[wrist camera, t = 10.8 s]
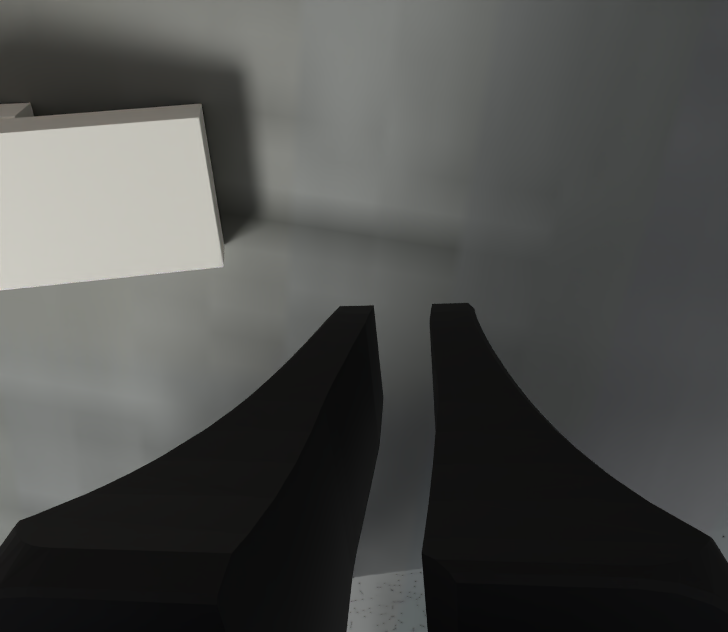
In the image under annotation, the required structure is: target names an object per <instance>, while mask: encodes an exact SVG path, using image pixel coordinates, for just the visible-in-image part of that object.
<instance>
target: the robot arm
mask: <svg viewBox="0 0 728 632" xmlns="http://www.w3.org/2000/svg"><path fill="white" fill-rule="evenodd" d="M430 338H431V356H432V374H433V392H434V410H435V428H436V435H435V446H434V458H433V469H432V478H431V488H430V497H429V505H428V513H427V520H426V527H425V535H424V541H423V548H422V564H423V576H424V589H425V602H426V614H427V627H428V632H728V562H727V561H726V559H725V557H724V556H723V554H722V553H721V551H720V549H719V548H718V546H717V545H716V543H715V542H714V540H713V539H712V538H711V537H710V536H708V535H706V534H704V533H703V532H701V531H699V530H697V529H696V528H694V527H692V526H690V525H689V524H687V523H685V522H683V521H682V520H680V519H678V518H676V517H675V516H673V515H671V514H669V513H668V512H666V511H664V510H662V509H661V508H659V507H657V506H655V505H654V504H652V503H650V502H649V501H647V500H645V499H644V498H642V497H641V496H639V495H638V494H636V493H635V492H633V491H632V490H631V489H629V488H628V487H626V486H625V485H623V484H622V483H620V482H619V481H617V480H616V479H614V478H613V477H612V476H610V475H609V474H608V473H606V472H605V471H604V470H603V469H601V468H600V467H599V466H598V465H596V464H595V463H594V462H593V461H591V460H590V459H589V458H588V457H586V456H585V455H584V454H583V453H581V452H580V451H579V450H578V449H576V448H575V447H574V446H573V445H572V444H571V443H570V442H569V441H568V440H567V439H566V438H565V437H564V436H563V435H562V434H560V433H559V432H558V431H557V430H556V429H555V428H554V427H553V426H552V424H551V423H550V422H549V421H548V420H547V419H546V418H545V417H544V416H543V415H542V414H541V413H540V412H539V411H538V410H537V408H536V407H535V406H534V405H533V404H532V403H531V401H530V400H529V399H528V398H527V397H526V395H525V394H524V393H523V392H522V390H521V389H520V388H519V387H518V385H517V384H516V383H515V381H514V380H513V379H512V377H511V376H510V375H509V373H508V372H507V370H506V369H505V367H504V366H503V364H502V363H501V361H500V360H499V358H498V357H497V355H496V354H495V352H494V350H493V349H492V347H491V345H490V344H489V342H488V340H487V338H486V336H485V334H484V333H483V331H482V329H481V326H480V324H479V322H478V320H477V317H476V314H475V310H474V308H473V307H472V306H471V305H469V304H468V303H450V304H432V308H431V314H430ZM382 409H383V390H382V381H381V371H380V362H379V352H378V342H377V333H376V323H375V313H374V305H373V306H340V307H339V308H338V309H337V310H336V311H335V312H334V313H333V314H332V315H331V316H330V317H329V318H328V319H327V320H326V321H325V322H324V324H323V325H322V326H321V327H320V328H319V329H318V330H317V331H316V332H315V333H314V334H313V336H312V337H311V338H310V339H309V340H308V341H307V342H306V343H305V344H304V345H303V346H302V347H301V348H300V349H299V350H298V351H297V352H296V353H295V354H294V356H293V357H292V358H291V359H290V360H289V361H288V362H287V363H286V364H285V365H284V366H283V367H282V368H281V369H280V370H278V371H277V372H276V373H275V374H274V375H273V376H272V377H271V378H270V379H269V380H267V381H266V382H265V383H264V384H263V385H262V386H261V387H260V388H259V389H258V390H256V391H255V392H254V393H253V394H252V395H251V396H249V397H248V398H247V399H246V400H245V401H243V402H242V403H241V404H239V405H238V406H237V407H236V408H234V409H233V410H232V411H230V412H229V413H228V414H226V415H225V416H223V417H222V418H221V419H219V420H218V421H217V422H215V423H214V424H212V425H211V426H210V427H208V428H207V429H205V430H204V431H202V432H200V433H199V434H197V435H196V436H194V437H192V438H191V439H189V440H187V441H186V442H184V443H183V444H181V445H179V446H178V447H176V448H174V449H173V450H171V451H170V452H168V453H166V454H165V455H163V456H161V457H160V458H158V459H156V460H154V461H152V462H151V463H149V464H147V465H145V466H143V467H141V468H139V469H137V470H135V471H134V472H132V473H130V474H128V475H126V476H123V477H121V478H119V479H117V480H115V481H113V482H111V483H109V484H107V485H105V486H103V487H101V488H98V489H96V490H94V491H92V492H90V493H87V494H85V495H83V496H80V497H78V498H75V499H73V500H70V501H68V502H65V503H63V504H61V505H58V506H56V507H53V508H51V509H48V510H46V511H43V512H41V513H39V514H36V515H34V516H31V517H28V518H26V519H23V520H20V521H19V522H18V523H17V524H16V526H15V527H14V528H13V530H12V531H11V532H10V534H9V535H8V536H7V538H6V539H5V541H4V542H3V544H2V545H1V546H0V632H346V630H347V621H348V612H349V603H350V594H351V584H352V576H353V570H354V564H355V558H356V552H357V547H358V543H359V538H360V534H361V529H362V524H363V520H364V515H365V511H366V506H367V502H368V497H369V492H370V488H371V483H372V479H373V474H374V469H375V464H376V460H377V455H378V450H379V444H380V433H381V422H382Z"/></svg>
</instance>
